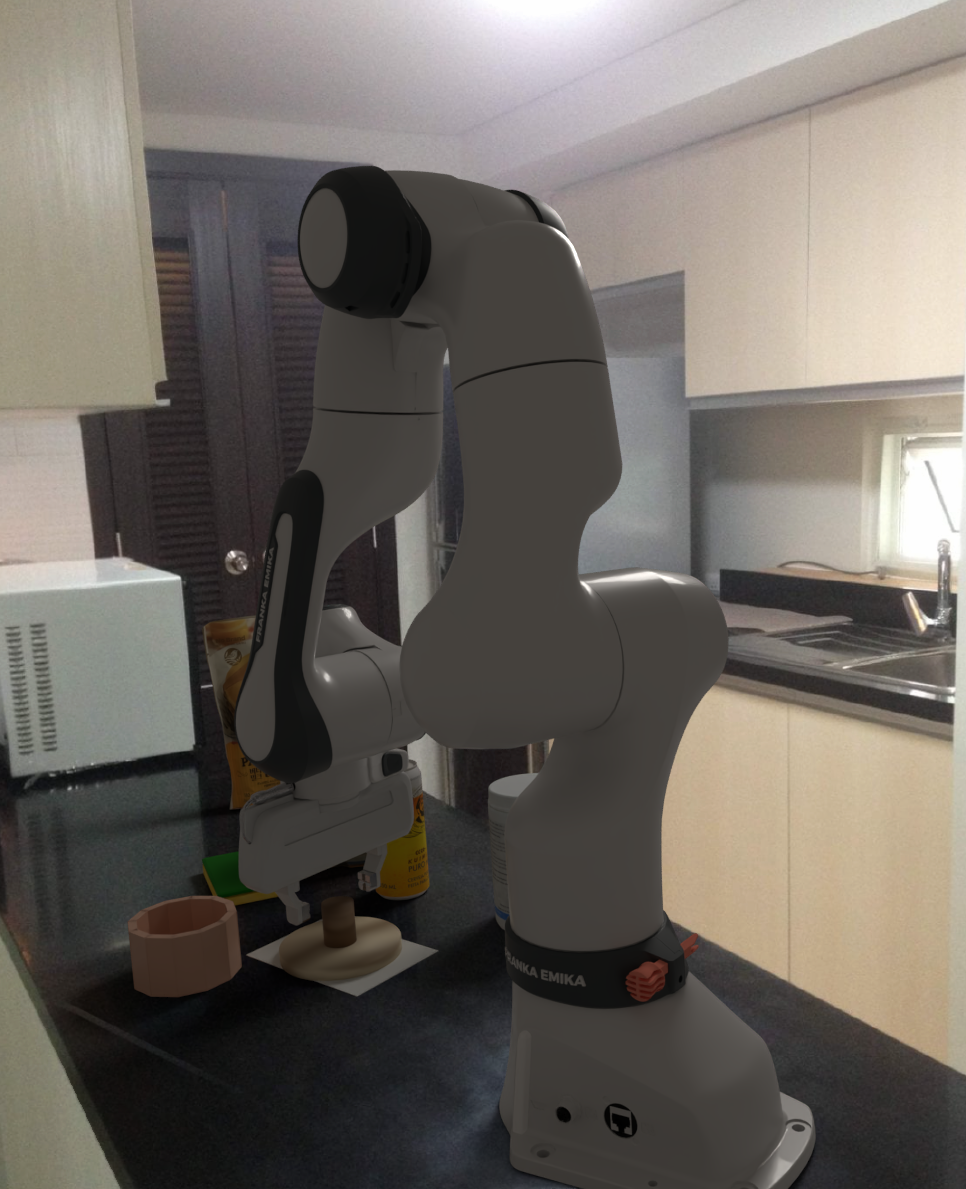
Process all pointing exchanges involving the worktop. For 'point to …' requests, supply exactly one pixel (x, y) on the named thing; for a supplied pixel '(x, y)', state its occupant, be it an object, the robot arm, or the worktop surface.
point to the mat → (361, 984)
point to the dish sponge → (229, 879)
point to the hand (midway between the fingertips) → (335, 904)
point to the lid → (340, 944)
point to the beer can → (407, 852)
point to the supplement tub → (502, 835)
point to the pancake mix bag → (233, 699)
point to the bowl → (184, 946)
